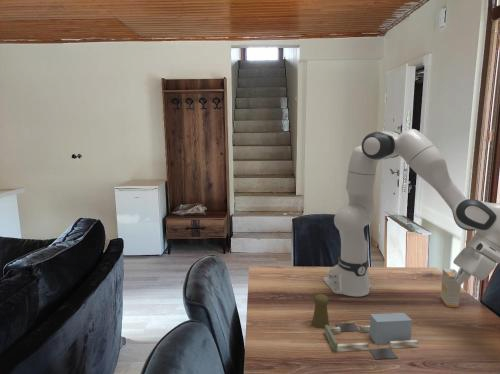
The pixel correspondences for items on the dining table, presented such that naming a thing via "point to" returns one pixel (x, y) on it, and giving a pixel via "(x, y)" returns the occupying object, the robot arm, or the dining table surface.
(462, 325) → the dining table surface
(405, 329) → the grey brick
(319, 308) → the cork
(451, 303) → the supplement box
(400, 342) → the lane
